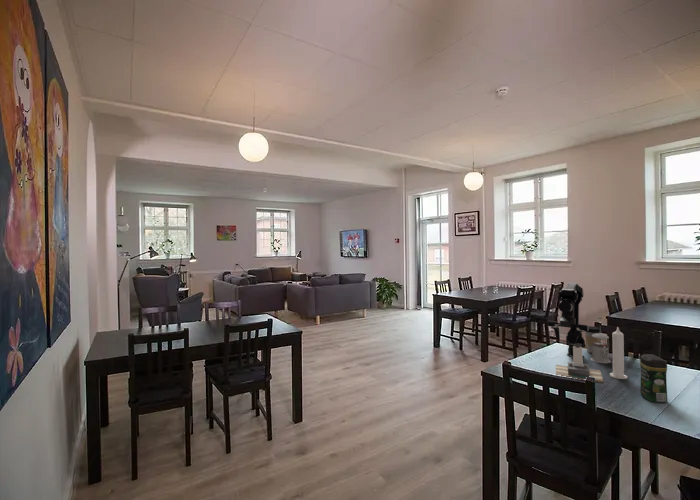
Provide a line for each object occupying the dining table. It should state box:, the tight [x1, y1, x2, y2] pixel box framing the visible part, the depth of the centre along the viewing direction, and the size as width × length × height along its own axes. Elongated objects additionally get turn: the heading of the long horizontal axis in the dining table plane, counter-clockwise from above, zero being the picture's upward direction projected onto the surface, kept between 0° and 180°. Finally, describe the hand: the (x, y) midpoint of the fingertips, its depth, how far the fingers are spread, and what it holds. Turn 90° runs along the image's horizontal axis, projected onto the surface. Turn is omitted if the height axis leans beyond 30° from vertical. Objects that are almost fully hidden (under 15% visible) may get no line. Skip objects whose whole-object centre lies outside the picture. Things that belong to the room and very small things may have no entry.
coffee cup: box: [584, 325, 603, 354], centre depth 221 cm, size 9×9×15 cm
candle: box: [609, 326, 628, 380], centre depth 182 cm, size 7×7×25 cm
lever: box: [572, 343, 584, 365], centre depth 188 cm, size 3×4×11 cm
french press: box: [590, 316, 612, 364], centre depth 206 cm, size 10×12×25 cm
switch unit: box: [555, 361, 604, 384], centre depth 186 cm, size 16×20×5 cm
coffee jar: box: [639, 353, 668, 404], centre depth 156 cm, size 10×8×19 cm
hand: (566, 342), depth 193 cm, fingers open, 7 cm apart
